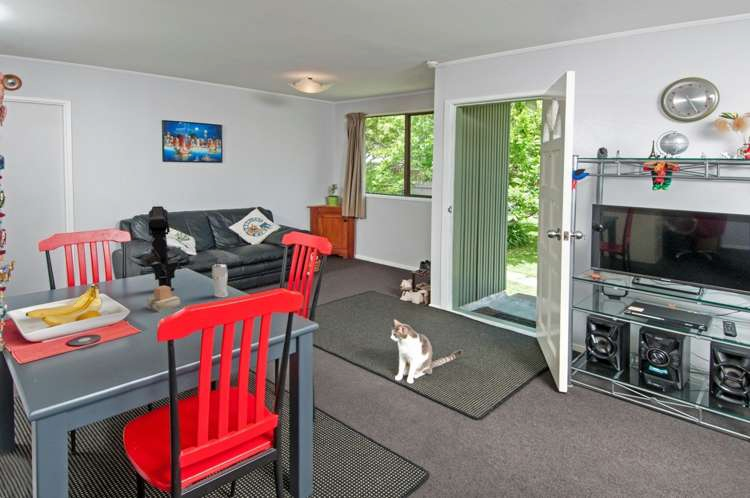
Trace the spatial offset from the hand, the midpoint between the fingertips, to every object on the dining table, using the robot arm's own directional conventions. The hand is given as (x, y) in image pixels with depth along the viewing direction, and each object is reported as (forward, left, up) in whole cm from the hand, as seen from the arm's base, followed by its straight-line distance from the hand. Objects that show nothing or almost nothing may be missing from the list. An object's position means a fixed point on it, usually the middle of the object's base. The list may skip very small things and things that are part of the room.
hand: (163, 280), depth 215 cm
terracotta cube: (+1, -2, -8) cm, 8 cm away
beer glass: (+7, +24, -12) cm, 28 cm away
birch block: (+1, -2, -12) cm, 12 cm away
